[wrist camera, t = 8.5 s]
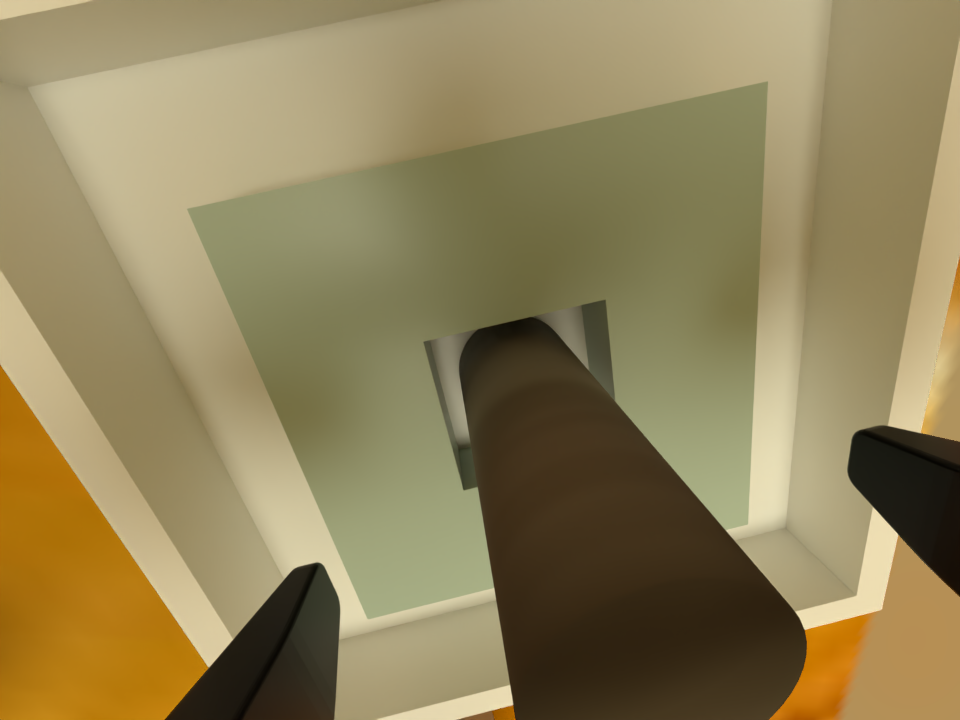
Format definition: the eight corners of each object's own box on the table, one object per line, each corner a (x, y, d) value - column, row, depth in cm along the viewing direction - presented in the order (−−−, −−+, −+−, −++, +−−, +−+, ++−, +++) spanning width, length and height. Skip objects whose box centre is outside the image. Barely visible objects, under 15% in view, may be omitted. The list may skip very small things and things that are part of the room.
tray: (789, 522, 18) (881, 609, 15) (307, 643, 18) (276, 765, 14) (848, -123, 10) (1079, -288, 7) (-8, 54, 10) (-265, -21, 6)
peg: (572, 402, 14) (795, 740, 5) (471, 425, 14) (539, 806, 5) (559, 303, 12) (820, 544, 4) (447, 329, 12) (487, 624, 4)
